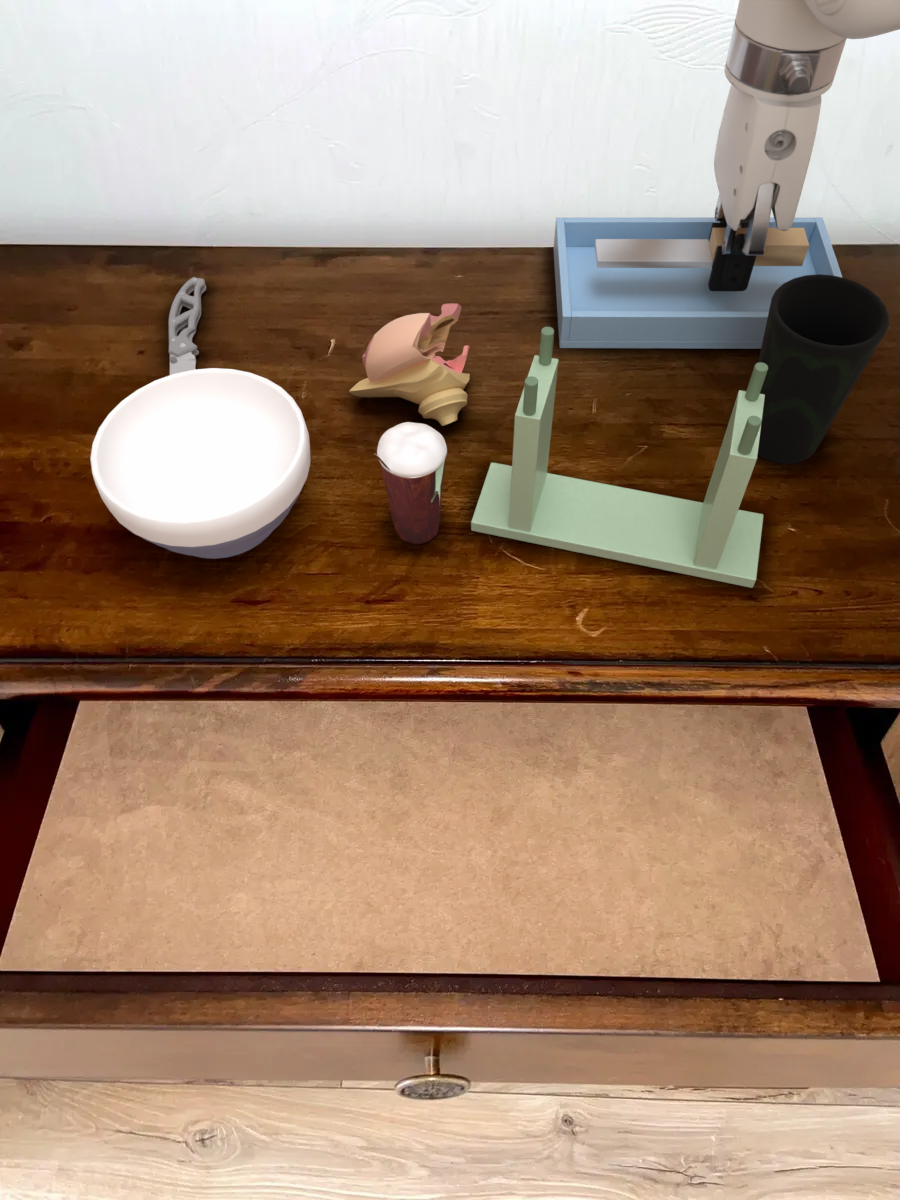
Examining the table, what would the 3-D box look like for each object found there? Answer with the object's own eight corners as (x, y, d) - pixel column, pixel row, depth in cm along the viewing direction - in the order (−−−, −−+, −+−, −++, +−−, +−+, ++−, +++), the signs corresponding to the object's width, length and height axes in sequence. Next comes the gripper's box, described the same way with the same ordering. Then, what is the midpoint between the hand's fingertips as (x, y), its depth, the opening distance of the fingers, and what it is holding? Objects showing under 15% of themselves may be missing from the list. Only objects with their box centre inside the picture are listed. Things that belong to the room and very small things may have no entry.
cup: (719, 457, 72) (760, 331, 62) (741, 391, 76) (783, 263, 66) (822, 485, 70) (881, 360, 60) (839, 417, 74) (897, 288, 64)
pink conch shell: (506, 412, 76) (463, 403, 67) (400, 455, 79) (345, 452, 71) (471, 303, 76) (423, 279, 67) (366, 351, 80) (308, 335, 71)
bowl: (263, 620, 64) (241, 552, 58) (82, 558, 67) (43, 487, 61) (354, 470, 72) (343, 396, 65) (188, 421, 75) (162, 345, 68)
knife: (205, 426, 75) (166, 430, 74) (207, 286, 84) (173, 290, 84) (200, 412, 73) (161, 416, 73) (203, 271, 83) (169, 275, 83)
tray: (811, 249, 86) (822, 217, 83) (842, 349, 78) (856, 317, 76) (553, 249, 86) (556, 217, 84) (559, 348, 79) (562, 316, 76)
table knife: (796, 246, 80) (803, 225, 78) (803, 268, 78) (810, 247, 76) (594, 245, 80) (596, 224, 79) (596, 268, 78) (599, 247, 77)
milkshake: (364, 535, 68) (350, 437, 60) (416, 493, 70) (409, 392, 62) (410, 569, 66) (401, 473, 58) (461, 525, 68) (460, 426, 60)
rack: (760, 522, 68) (822, 368, 56) (752, 588, 65) (817, 439, 53) (490, 470, 71) (495, 314, 59) (470, 531, 68) (471, 378, 56)
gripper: (864, 115, 61) (784, 341, 76) (816, -2, 70) (753, 220, 85) (747, 115, 61) (691, 340, 76) (713, -2, 70) (669, 220, 85)
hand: (724, 275), depth 81 cm, fingers closed on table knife, 2 cm apart
